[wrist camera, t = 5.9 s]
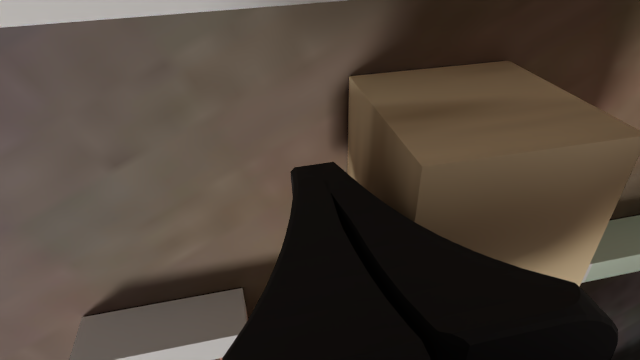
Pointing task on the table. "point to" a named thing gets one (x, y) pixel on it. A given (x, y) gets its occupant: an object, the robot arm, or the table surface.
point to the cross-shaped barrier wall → (228, 306)
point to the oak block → (492, 161)
